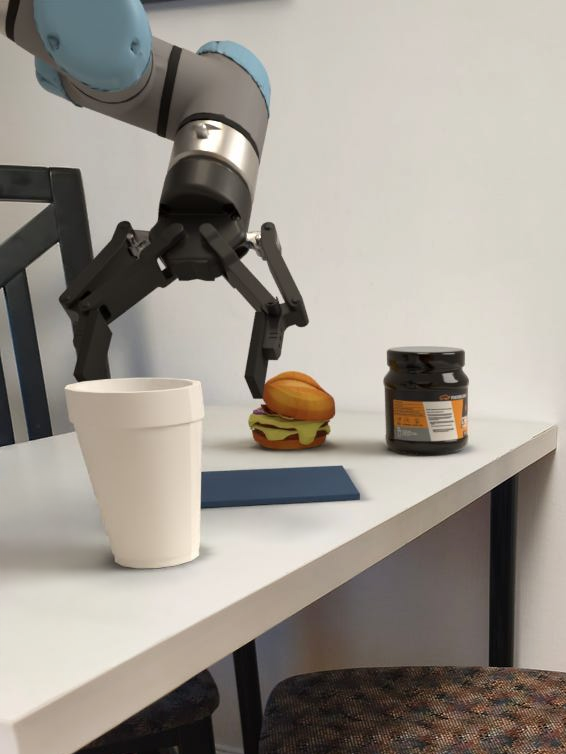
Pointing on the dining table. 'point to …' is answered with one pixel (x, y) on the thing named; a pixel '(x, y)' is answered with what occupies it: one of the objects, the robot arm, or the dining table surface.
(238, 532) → the dining table surface
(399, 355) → the supplement container
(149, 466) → the foam cup
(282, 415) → the cheeseburger
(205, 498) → the cup mat
